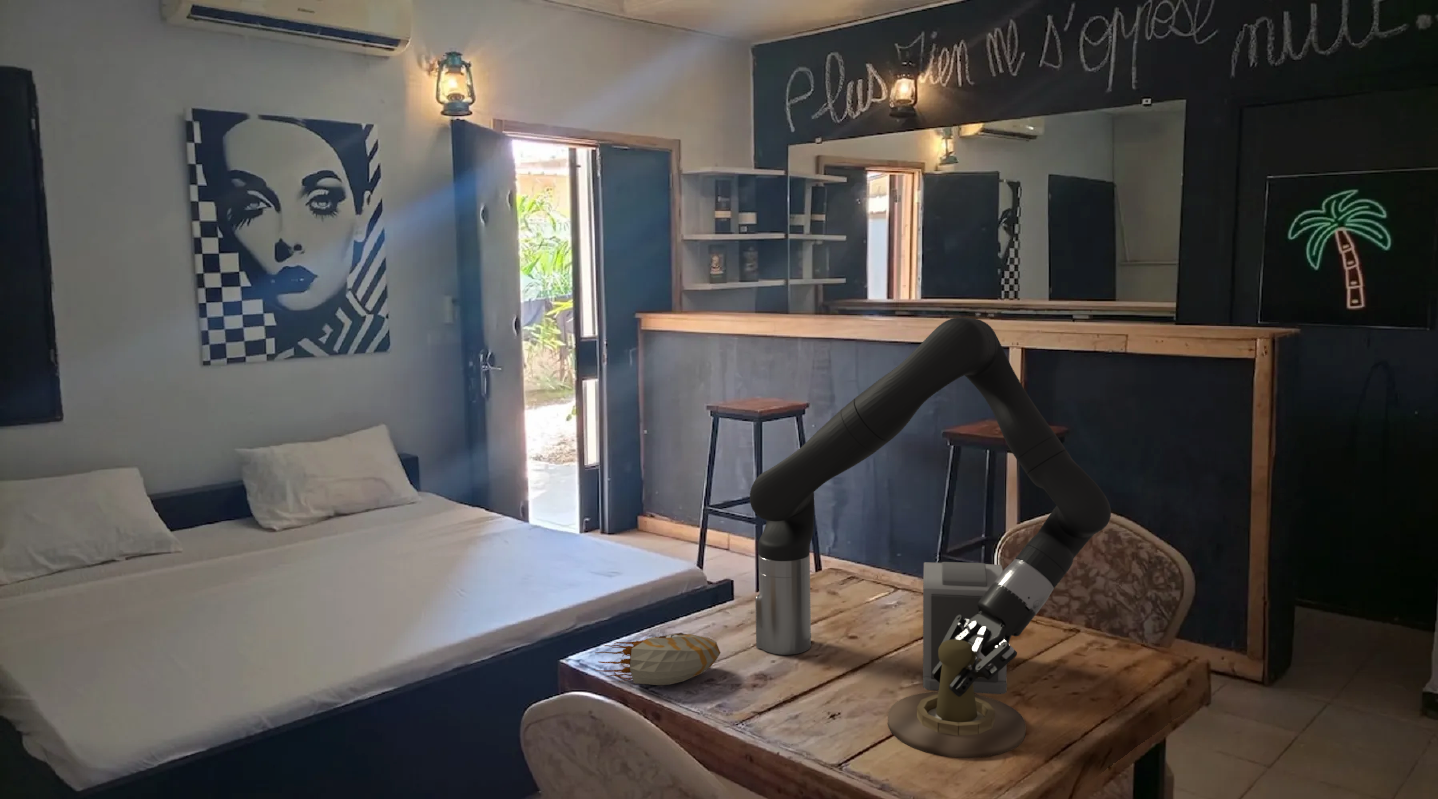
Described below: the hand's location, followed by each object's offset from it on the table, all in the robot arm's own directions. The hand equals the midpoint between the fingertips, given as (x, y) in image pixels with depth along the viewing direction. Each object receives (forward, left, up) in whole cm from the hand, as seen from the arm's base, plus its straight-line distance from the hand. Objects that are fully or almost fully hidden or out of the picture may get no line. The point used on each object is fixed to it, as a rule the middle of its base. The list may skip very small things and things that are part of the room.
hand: (945, 685), depth 153 cm
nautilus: (-49, +2, -7) cm, 50 cm away
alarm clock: (-2, +23, -7) cm, 24 cm away
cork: (+2, +1, -5) cm, 5 cm away
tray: (+1, +1, -7) cm, 7 cm away
